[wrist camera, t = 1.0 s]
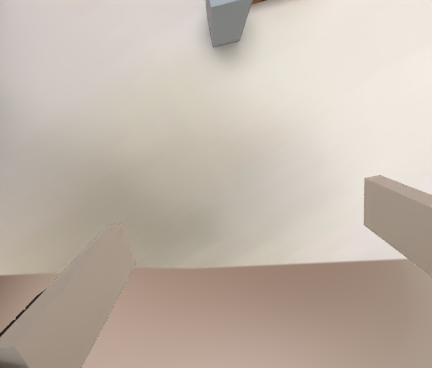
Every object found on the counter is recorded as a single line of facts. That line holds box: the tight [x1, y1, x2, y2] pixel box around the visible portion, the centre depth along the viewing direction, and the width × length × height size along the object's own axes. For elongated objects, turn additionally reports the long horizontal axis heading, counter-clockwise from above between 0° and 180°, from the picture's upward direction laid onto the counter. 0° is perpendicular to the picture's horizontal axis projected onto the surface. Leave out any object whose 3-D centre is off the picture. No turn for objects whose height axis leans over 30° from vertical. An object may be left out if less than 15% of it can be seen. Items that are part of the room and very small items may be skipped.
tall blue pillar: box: [206, 0, 252, 47], centre depth 26 cm, size 4×4×13 cm
